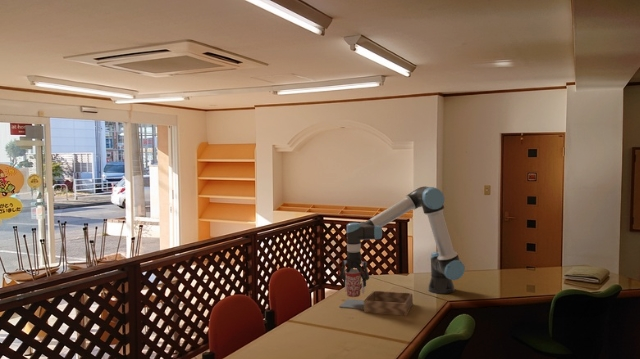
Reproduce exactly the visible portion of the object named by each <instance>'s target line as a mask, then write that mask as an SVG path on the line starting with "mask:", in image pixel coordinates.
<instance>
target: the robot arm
mask: <svg viewBox="0 0 640 359" xmlns="http://www.w3.org/2000/svg"><path fill="white" fill-rule="evenodd" d="M445 199H446V198H445V195H444V193H443V191H441V190H440V189H439V188H437V187H435V186H420V187H417V188H416V189H415V190H412V191H411V192H410V193H408V194H406V195H405V197H404V198H403V199H402V200H399V201H398V202H396V203H395V204H393V205H391V206H389V207H388V208H386V209H385V210H383V211H382V212H380V213H378V214H376V215H375V216H373V217H371V218H370V219H368V220H366V221H361V222H349V223H347V224H346V251H347V252H346V257H347V258H346V260H342V261H341V271H340V275H339V276H340V277H339V278H340V279H342V280H343V283H342V284H343V286H344V289H345V291H344V292H346V293H347V288H346V275H345V271H346V270H347V271H346V272H347V273H349V271H350V269H357V270H358V271H359V272H361V279H362V280H361V283H362V288H361V293H362V294H364V293H365V292H366V290H365V287H366V286H367V281H369V280H370V274H369V271H368V267H367V265H368V262H367V260H365V261H362V252H361V250H362V248H361V244H362V242H361V241H367V240H368V241H369V240H370V241H371V240H381V239H382V237H383V229H382V227H385V226H386V225H387V224H389V223H391V222H393V221H394V220H396V219H398V218H400V217H402V216H403V215H405V214H406V213H408V212H409V211H411V210H414V211H415V210H416V209H419V208H422V211H423V214H424V215H426V216H427V218H428V221H429V225H430V228H431V232H432V235H433V238H434V242H435V246H436V248H437V252H432V253H431V254H430V272H431V273H430V280H429V284H428V291H429V292H431V293H435V294H442V295H443V294H444V295H445V294H452V293H454V292H455V290H456V289H455V284H454V282H453V281H456V280H457V281H458V280H460V278H462V277H463V275H464V274H465V271H466V270H465V269H466V268H465V265H464V263H463V261H461V260H460V256H459V254H458V252H457V251H455V249H454V246H453V242H452V239H451V236H450V232H449V229H448V226H447V222H446V218H445V215H444V212H443V211H444V210H445V206H444V203H445ZM347 265H348V266H347ZM361 265H362V266H363V269H362V267H361ZM346 266H347V269H346ZM364 273H365V275H364Z"/></svg>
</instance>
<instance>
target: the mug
mask: <svg viewBox="0 0 640 359" xmlns="http://www.w3.org/2000/svg"><path fill="white" fill-rule="evenodd" d="M346 271H347V269H345V271H344V275H346V288H347V292H346V296H348V297H350V298H358V297H360V296H361V291H362V280H361V279H362V277H361V272H359V271H358V270H357V268H351V269H350V271H349V273H347V272H346ZM363 273H364V275H365V272H363Z"/></svg>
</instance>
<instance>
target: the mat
mask: <svg viewBox="0 0 640 359" xmlns="http://www.w3.org/2000/svg"><path fill="white" fill-rule="evenodd" d="M364 300H365V299H364ZM364 300H363V299H352V298H351V299H350V298H347V299H345V301H344V302H342V303H341V304H340V305H339V308H341V309H342V308H343V309H352V310H353V309H355V310H364Z"/></svg>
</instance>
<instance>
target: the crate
mask: <svg viewBox="0 0 640 359" xmlns="http://www.w3.org/2000/svg"><path fill="white" fill-rule="evenodd" d="M413 298H414V297H413V292H401V291H400V292H399V291H385V290H384V291H382V290H372V291H371V292H370V293H369V295H367V297H366V298H365V299H364V309H363V312H364V313H371V314H381V315H382V314H384V315H392V316H393V315H396V316H405V317H406V316H407V315H408V313H409V311H410V309H411V308H412V306H413V303H414V299H413Z"/></svg>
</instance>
